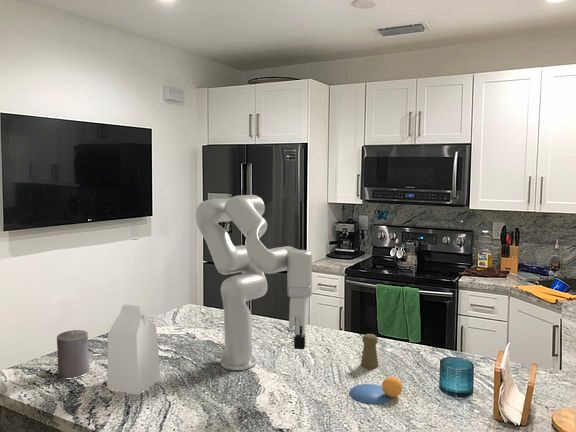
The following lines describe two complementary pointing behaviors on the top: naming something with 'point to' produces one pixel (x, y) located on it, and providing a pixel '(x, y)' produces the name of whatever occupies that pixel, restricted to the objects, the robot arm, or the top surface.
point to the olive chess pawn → (369, 352)
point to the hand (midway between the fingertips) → (299, 348)
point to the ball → (392, 386)
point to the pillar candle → (72, 353)
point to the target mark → (369, 394)
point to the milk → (132, 352)
